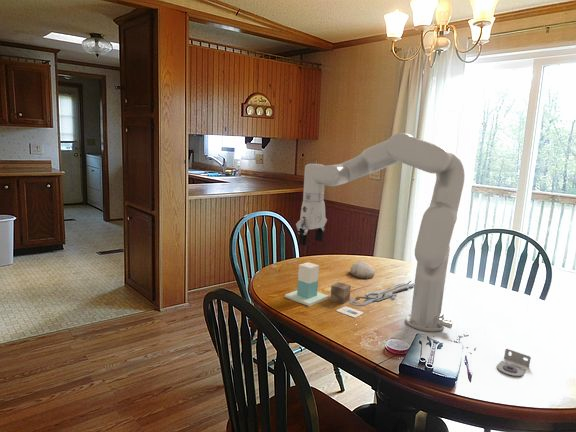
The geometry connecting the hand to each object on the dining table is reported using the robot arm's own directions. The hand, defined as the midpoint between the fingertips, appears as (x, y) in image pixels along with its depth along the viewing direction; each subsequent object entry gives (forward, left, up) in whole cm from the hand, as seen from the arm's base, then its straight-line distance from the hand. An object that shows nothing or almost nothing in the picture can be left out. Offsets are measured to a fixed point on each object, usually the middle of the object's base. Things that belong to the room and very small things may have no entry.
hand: (310, 242), depth 159 cm
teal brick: (0, 0, -21) cm, 21 cm away
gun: (-19, -27, -22) cm, 40 cm away
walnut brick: (-10, -8, -22) cm, 25 cm away
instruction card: (-19, -1, -22) cm, 29 cm away
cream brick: (0, 0, -15) cm, 15 cm away
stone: (+2, -42, -22) cm, 48 cm away
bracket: (-72, -3, -22) cm, 75 cm away
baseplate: (0, 0, -22) cm, 22 cm away
